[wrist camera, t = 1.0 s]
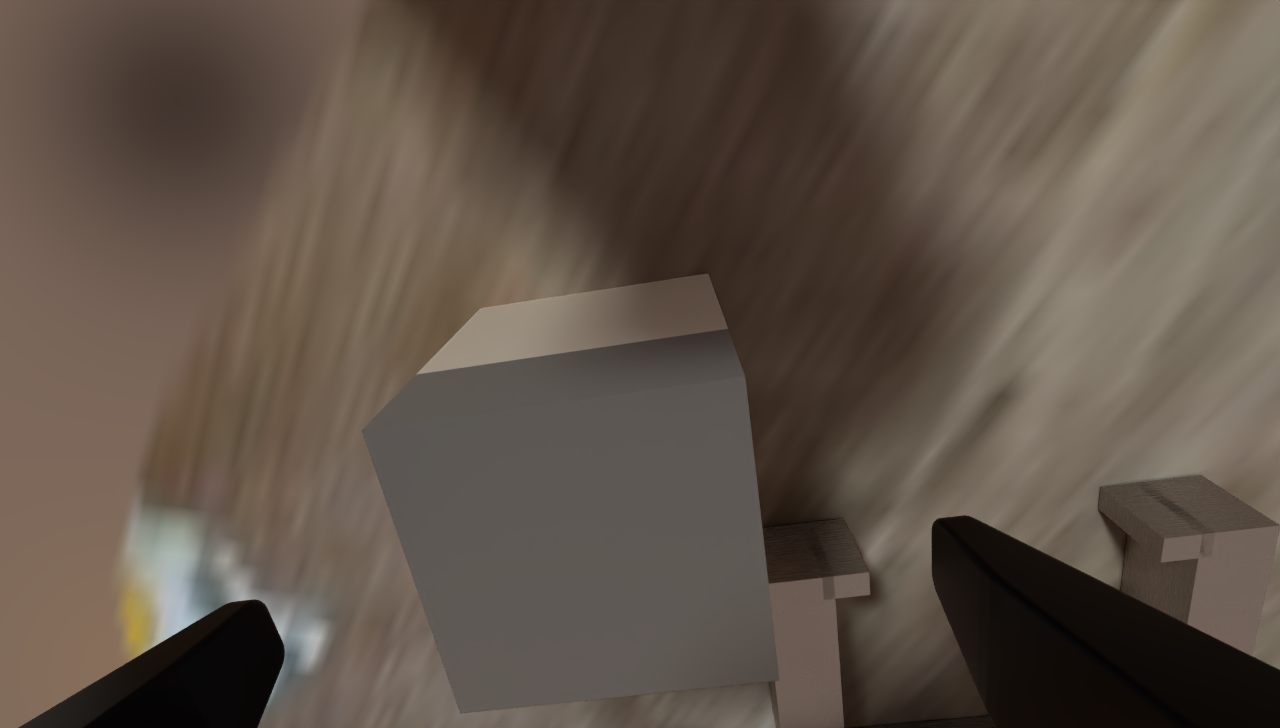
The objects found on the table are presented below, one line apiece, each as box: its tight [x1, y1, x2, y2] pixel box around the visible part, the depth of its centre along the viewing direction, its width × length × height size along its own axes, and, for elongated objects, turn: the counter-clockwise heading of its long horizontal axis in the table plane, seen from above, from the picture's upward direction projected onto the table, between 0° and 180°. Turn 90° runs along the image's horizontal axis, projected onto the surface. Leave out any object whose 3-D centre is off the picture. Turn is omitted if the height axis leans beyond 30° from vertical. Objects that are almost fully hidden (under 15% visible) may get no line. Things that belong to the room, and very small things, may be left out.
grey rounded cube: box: [362, 273, 780, 713], centre depth 12 cm, size 5×5×6 cm
